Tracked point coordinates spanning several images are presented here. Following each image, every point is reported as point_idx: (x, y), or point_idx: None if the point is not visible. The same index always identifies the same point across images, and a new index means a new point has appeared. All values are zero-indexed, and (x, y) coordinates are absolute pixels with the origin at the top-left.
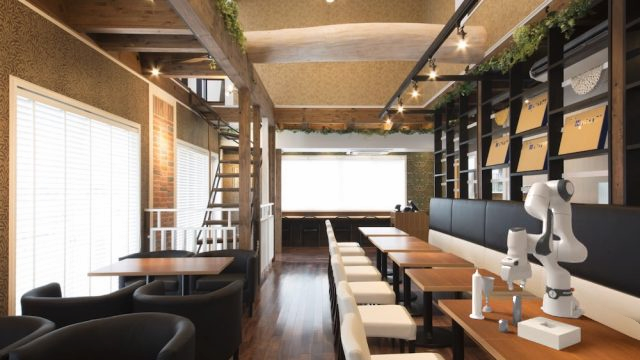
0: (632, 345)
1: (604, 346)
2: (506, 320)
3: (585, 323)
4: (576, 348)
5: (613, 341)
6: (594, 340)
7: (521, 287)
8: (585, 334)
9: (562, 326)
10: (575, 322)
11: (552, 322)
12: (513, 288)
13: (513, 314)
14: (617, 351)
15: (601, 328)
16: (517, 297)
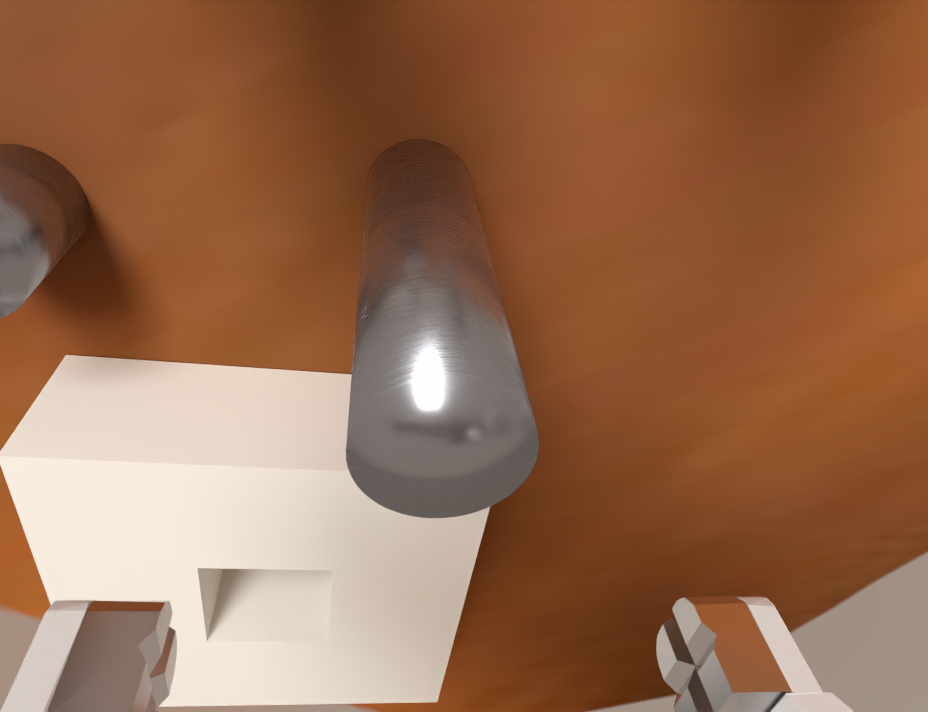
0: (597, 705)
1: (462, 669)
2: (4, 288)
3: (903, 506)
4: None
5: (594, 664)
6: (528, 626)
7: (675, 619)
8: (615, 576)
9: (346, 654)
10: (892, 466)
11: (384, 594)
12: (155, 700)
13: (368, 225)
14: (436, 706)
15: (830, 580)
16: (361, 483)
